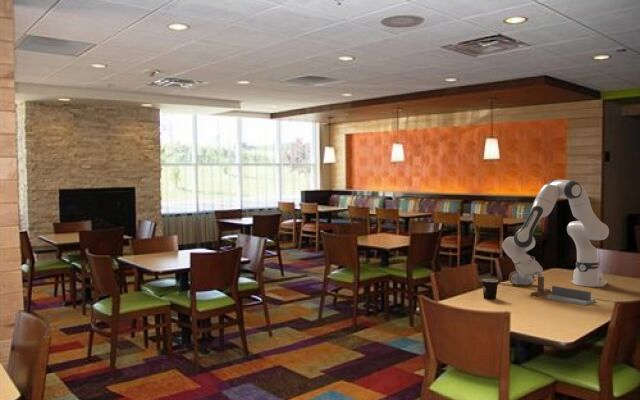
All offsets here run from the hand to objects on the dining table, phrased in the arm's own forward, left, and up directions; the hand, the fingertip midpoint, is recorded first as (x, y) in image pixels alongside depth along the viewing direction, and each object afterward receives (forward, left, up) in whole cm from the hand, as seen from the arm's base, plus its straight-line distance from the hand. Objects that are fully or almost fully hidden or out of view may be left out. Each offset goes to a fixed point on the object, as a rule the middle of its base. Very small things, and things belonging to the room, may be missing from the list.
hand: (538, 280), depth 304 cm
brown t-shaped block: (0, +1, -8) cm, 8 cm away
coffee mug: (+30, -13, -8) cm, 33 cm away
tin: (-15, -19, -8) cm, 25 cm away
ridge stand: (+2, +19, -7) cm, 21 cm away
